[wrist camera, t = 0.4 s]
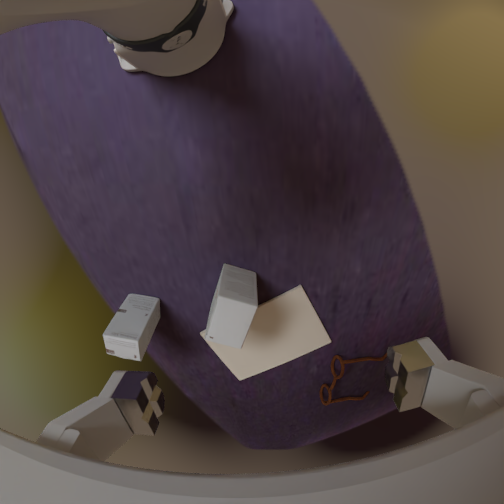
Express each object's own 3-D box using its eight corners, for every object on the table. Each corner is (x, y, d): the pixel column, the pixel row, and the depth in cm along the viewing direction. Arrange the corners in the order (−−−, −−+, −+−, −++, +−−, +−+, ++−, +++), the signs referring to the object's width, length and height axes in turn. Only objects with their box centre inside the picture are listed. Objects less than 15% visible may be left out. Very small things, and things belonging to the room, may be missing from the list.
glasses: (334, 349, 56) (340, 366, 51) (390, 350, 57) (398, 365, 52) (317, 392, 61) (321, 409, 56) (368, 391, 62) (374, 406, 57)
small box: (242, 311, 52) (241, 351, 42) (211, 302, 51) (203, 341, 41) (257, 271, 49) (259, 307, 39) (223, 261, 48) (217, 295, 38)
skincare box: (160, 297, 50) (139, 340, 39) (161, 318, 52) (142, 362, 41) (127, 292, 50) (101, 332, 39) (129, 313, 52) (106, 355, 41)
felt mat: (200, 332, 53) (199, 333, 53) (300, 284, 50) (301, 286, 49) (239, 378, 58) (239, 380, 57) (330, 340, 54) (331, 342, 54)
